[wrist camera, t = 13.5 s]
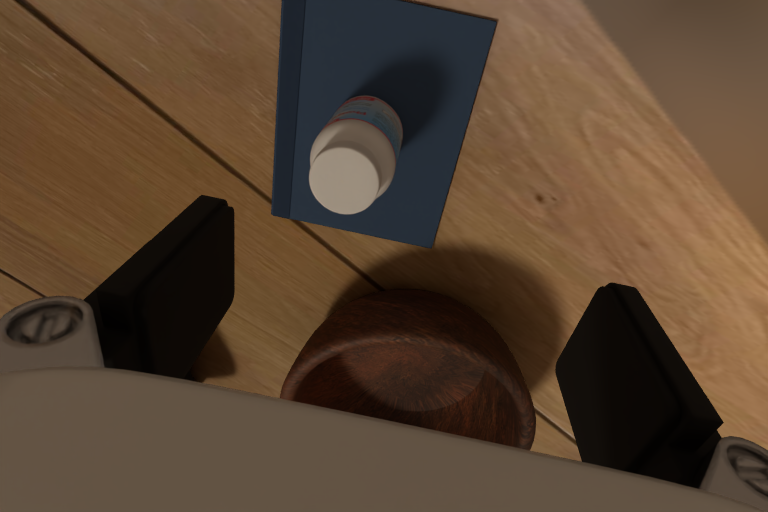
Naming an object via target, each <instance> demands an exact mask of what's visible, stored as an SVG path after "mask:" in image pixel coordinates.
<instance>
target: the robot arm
mask: <svg viewBox="0 0 768 512" xmlns="http://www.w3.org/2000/svg"><path fill="white" fill-rule="evenodd" d="M233 298H234V209H233V207H229V206H228V204H227V201H226V200H224V199H219V198H215V197H210V196H205V195H201V196H199V197H198V198H197V199H196V200H195V201H194V202H193V203H192V204H191V205H189V206H188V207H187V208H186V209H185V210H184V211H183V212H182V213H181V214H179V215H178V216H177V217H176V218H175V219H174V220H173V221H172V222H171V223H169V224H168V225H167V226H166V227H165V228H164V229H163V230H162V231H161V232H159V233H158V234H157V235H156V236H155V237H154V238H153V239H152V240H150V241H149V242H148V243H146V244H145V245H144V246H143V247H142V248H141V249H140V250H139V251H137V252H136V253H135V254H134V255H133V256H132V257H131V258H130V259H129V260H127V261H126V262H125V263H124V264H123V265H122V266H121V267H120V268H119V269H117V270H116V271H115V272H114V273H113V274H112V275H111V276H110V277H109V278H107V279H106V280H105V281H104V282H103V283H102V284H101V285H100V286H99V287H97V288H96V289H95V290H94V291H93V292H92V293H91V294H90V295H88V296H87V297H86V298H85V299H84V300H82V299H78V298H75V297H71V296H51V297H43V298H39V299H35V300H32V301H28V302H26V303H24V304H22V305H19V306H17V307H15V308H13V309H12V310H11V311H9V312H8V313H6V314H5V315H4V316H3V317H2V318H1V319H0V512H768V450H766V449H765V448H763V447H761V446H759V445H757V444H755V443H754V442H751V441H749V440H746V439H743V438H740V437H733V436H729V437H724V438H721V436H720V434H719V433H718V431H717V429H718V428H719V427H720V426H721V425H722V424H723V423H724V422H723V421H722V419H721V418H720V416H719V415H718V413H717V412H716V410H715V409H714V407H713V405H712V404H711V402H710V401H709V399H708V398H707V396H706V395H705V393H704V392H703V390H702V388H701V387H700V385H699V384H698V382H697V381H696V379H695V378H694V376H693V375H692V373H691V372H690V370H689V368H688V367H687V365H686V364H685V362H684V361H683V359H682V358H681V356H680V355H679V353H678V351H677V350H676V348H675V347H674V345H673V344H672V342H671V341H670V339H669V338H668V336H667V335H666V333H665V331H664V330H663V328H662V327H661V325H660V324H659V322H658V321H657V319H656V318H655V316H654V314H653V313H652V311H651V310H650V308H649V307H648V305H647V304H646V302H645V301H644V299H643V298H642V296H641V294H640V293H639V291H638V290H637V289H636V288H634V287H631V286H626V285H621V284H617V283H609V284H607V285H606V286H605V287H603V286H602V287H600V288H598V290H597V291H596V293H595V295H594V296H593V298H592V300H591V302H590V304H589V305H588V307H587V309H586V311H585V312H584V314H583V316H582V318H581V319H580V321H579V323H578V325H577V326H576V328H575V330H574V332H573V334H572V335H571V337H570V339H569V341H568V342H567V344H566V346H565V348H564V349H563V351H562V353H561V355H560V356H559V358H558V360H557V363H556V369H555V370H556V376H557V380H558V383H559V386H560V390H561V393H562V396H563V400H564V403H565V406H566V410H567V413H568V416H569V420H570V423H571V426H572V430H573V433H574V436H575V439H576V443H577V446H578V449H579V453H580V456H581V459H582V462H580V461H576V460H571V459H567V458H562V457H557V456H553V455H548V454H543V453H539V452H534V451H529V450H525V449H520V448H515V447H511V446H506V445H501V444H497V443H492V442H488V441H483V440H478V439H473V438H468V437H464V436H459V435H454V434H449V433H445V432H440V431H435V430H430V429H426V428H421V427H416V426H411V425H407V424H402V423H397V422H392V421H387V420H383V419H378V418H373V417H368V416H363V415H359V414H354V413H349V412H344V411H339V410H334V409H329V408H324V407H319V406H315V405H310V404H305V403H300V402H295V401H290V400H285V399H280V398H275V397H270V396H265V395H261V394H256V393H251V392H246V391H241V390H236V389H231V388H226V387H221V386H215V385H210V384H205V383H200V382H195V381H190V380H184V377H185V376H186V374H187V373H188V371H189V370H190V368H191V367H192V365H193V363H194V362H195V360H196V359H197V357H198V356H199V354H200V352H201V351H202V349H203V348H204V346H205V345H206V343H207V342H208V340H209V338H210V337H211V335H212V334H213V332H214V331H215V329H216V327H217V326H218V324H219V323H220V321H221V320H222V318H223V317H224V315H225V313H226V312H227V310H228V309H229V307H230V305H231V304H232V301H233Z"/></svg>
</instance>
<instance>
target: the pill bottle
mask: <svg viewBox="0 0 768 512" xmlns="http://www.w3.org/2000/svg"><path fill="white" fill-rule="evenodd" d="M402 139H403V129H402V124H401V121H400V118H399V117H398V115H397V113H396V112H395V111H394V109H393V108H392V107H391V106H389V105H388V104H387V103H386V102H384V101H383V100H381V99H379V98H376V97H373V96H357V97H354V98H351V99H349V100H348V101H346V102H345V103H343V104H342V105H341V106H340V107H339V108H338V110H337V111H336V112H335V113H334V115H333V116H332V117H331V119H330V120H329V121H328V123H327V124H326V125H325V126H324V128H323V129H322V131H321V132H320V133H319V135H318V136H317V138H316V139H315V141H314V143H313V146H312V149H311V153H310V166H311V168H310V172H309V183H310V188H311V190H312V193H313V195H314V196H315V198H316V199H317V200H318V201H319V202H320V203H321V204H322V205H323V206H324V207H325V208H327V209H329V210H331V211H333V212H336V213H339V214H355V213H358V212H361V211H363V210H365V209H366V208H368V207H369V206H370V205H371V204H372V203H373V201H374V200H375V199H376V198H378V197H379V196H381V195H382V194H383V193H384V192H385V191H386V190H387V188H388V187H389V185H390V184H391V181H392V179H393V176H394V173H395V169H396V165H397V161H398V157H399V153H400V148H401V144H402Z"/></svg>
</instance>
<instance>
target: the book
mask: <svg viewBox="0 0 768 512" xmlns="http://www.w3.org/2000/svg"><path fill="white" fill-rule="evenodd" d="M496 23H497V22H496V21H492V20H488V19H483V18H479V17H474V16H470V15H465V14H461V13H456V12H451V11H447V10H442V9H438V8H433V7H429V6H424V5H420V4H415V3H410V2H406V1H401V0H282V8H281V28H280V49H279V69H278V89H277V109H276V129H275V149H274V170H273V190H272V210H271V214H272V215H273V216H278V217H282V218H287V219H289V218H290V219H295V220H300V221H304V222H309V223H314V224H318V225H323V226H328V227H332V228H337V229H342V230H346V231H351V232H356V233H361V234H365V235H370V236H375V237H379V238H384V239H389V240H393V241H398V242H403V243H407V244H412V245H417V246H421V247H426V248H432V245H433V242H434V238H435V235H436V231H437V228H438V224H439V221H440V218H441V214H442V211H443V207H444V204H445V200H446V197H447V193H448V190H449V186H450V183H451V179H452V176H453V172H454V169H455V165H456V162H457V159H458V155H459V152H460V148H461V145H462V141H463V138H464V134H465V131H466V127H467V124H468V120H469V117H470V113H471V110H472V106H473V103H474V99H475V96H476V93H477V89H478V86H479V82H480V79H481V75H482V72H483V68H484V65H485V61H486V58H487V54H488V51H489V47H490V44H491V40H492V37H493V34H494V30H495V27H496ZM357 96H373V97H376V98H379V99H381V100H383V101H384V102H386V103H387V104H388V105H389V106H391V107H392V108H393V109H394V111H395V112H396V113H397V115H398V117H399V118H400V121H401V124H402V129H403V139H402V144H401V148H400V153H399V157H398V161H397V165H396V169H395V173H394V176H393V179H392V181H391V184H390V185H389V187H388V188H387V190H386V191H385V192H384V193H383V194H382V195H381V196H379V197H378V198H376V199H375V200H374V201H373V203H372V204H371V205H370V206H369V207H368V208H366V209H365V210H363V211H361V212H358V213H355V214H339V213H336V212H333V211H331V210H329V209H327V208H325V207H324V206H323V205H322V204H321V203H320V202H319V201H318V200H317V199H316V198H315V196H314V195H313V193H312V190H311V188H310V183H309V172H310V168H311V166H310V153H311V149H312V146H313V143H314V141H315V139H316V138H317V136H318V135H319V133H320V132H321V131H322V129H323V128H324V126H325V125H326V124H327V123H328V121H329V120H330V119H331V117H332V116H333V115H334V113H335V112H336V111H337V110H338V108H339V107H340V106H341V105H342V104H343V103H345V102H346V101H348V100H349V99H351V98H354V97H357Z"/></svg>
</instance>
